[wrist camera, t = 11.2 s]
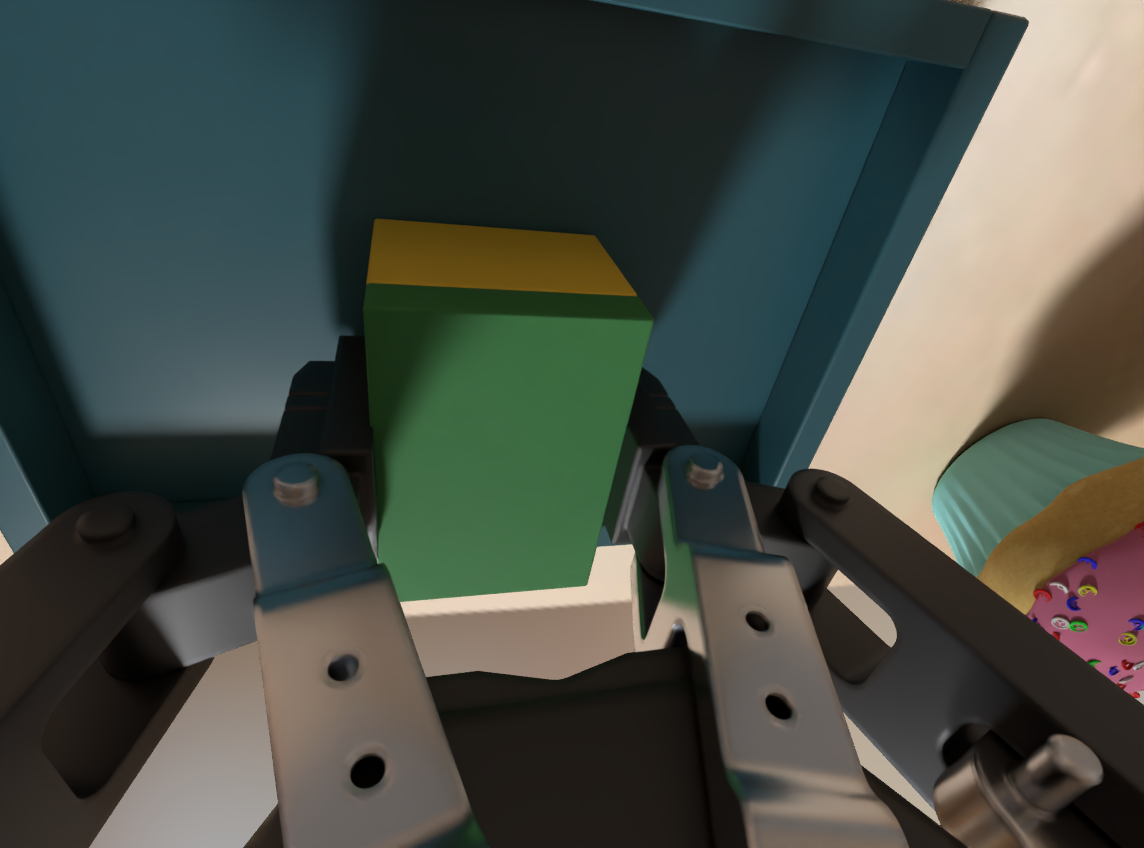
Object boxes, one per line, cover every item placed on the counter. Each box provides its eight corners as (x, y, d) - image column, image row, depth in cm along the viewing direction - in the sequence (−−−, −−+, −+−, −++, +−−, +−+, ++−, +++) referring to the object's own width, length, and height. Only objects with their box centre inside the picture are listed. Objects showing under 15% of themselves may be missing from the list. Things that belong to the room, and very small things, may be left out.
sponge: (553, 473, 15) (587, 586, 12) (385, 479, 14) (380, 604, 11) (595, 234, 11) (655, 317, 9) (374, 217, 10) (363, 306, 7)
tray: (78, 512, 13) (32, 589, 11) (-276, -253, 6) (-506, -326, 5) (742, 482, 18) (776, 534, 16) (940, 11, 11) (1033, 18, 9)
